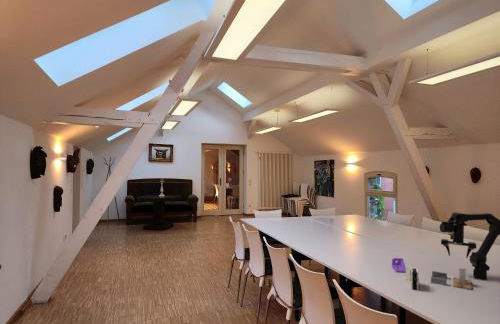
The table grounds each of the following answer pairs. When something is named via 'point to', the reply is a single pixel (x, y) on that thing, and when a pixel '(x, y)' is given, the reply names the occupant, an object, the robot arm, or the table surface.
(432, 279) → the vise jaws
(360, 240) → the table surface
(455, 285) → the walnut pad
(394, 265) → the bracket
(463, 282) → the grey flared bar
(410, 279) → the hinge
